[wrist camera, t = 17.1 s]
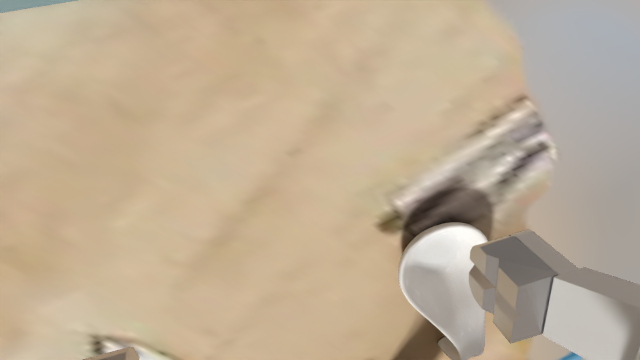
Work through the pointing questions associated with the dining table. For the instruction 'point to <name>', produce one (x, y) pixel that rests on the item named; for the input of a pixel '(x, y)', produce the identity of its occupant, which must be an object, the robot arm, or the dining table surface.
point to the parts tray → (26, 4)
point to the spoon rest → (445, 286)
